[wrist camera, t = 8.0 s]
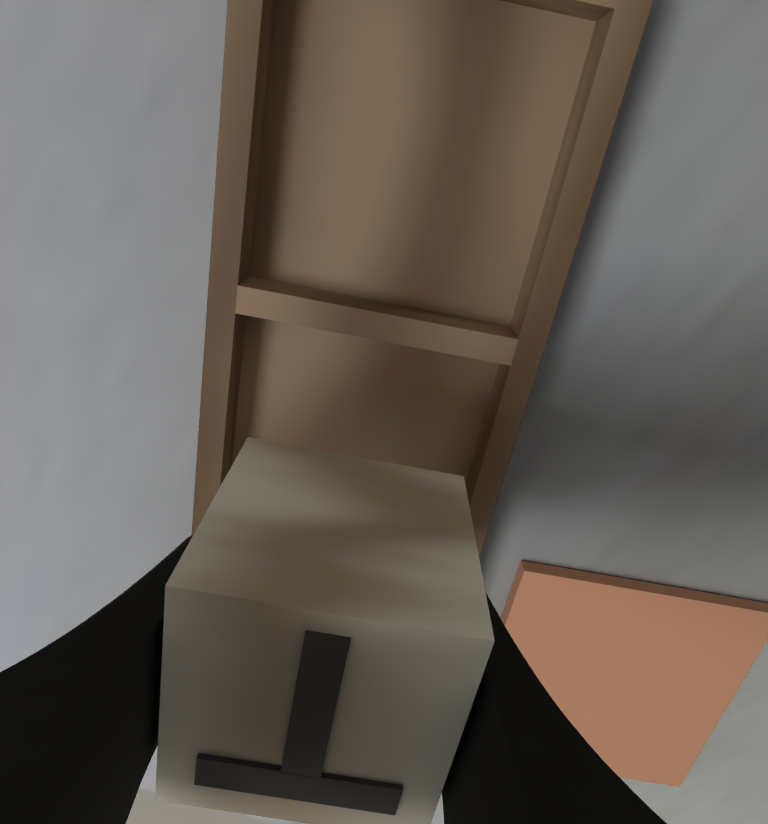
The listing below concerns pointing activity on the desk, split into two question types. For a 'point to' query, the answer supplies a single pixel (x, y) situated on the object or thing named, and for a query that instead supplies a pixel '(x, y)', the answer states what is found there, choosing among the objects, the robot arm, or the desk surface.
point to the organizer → (399, 223)
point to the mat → (635, 661)
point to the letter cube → (322, 641)
